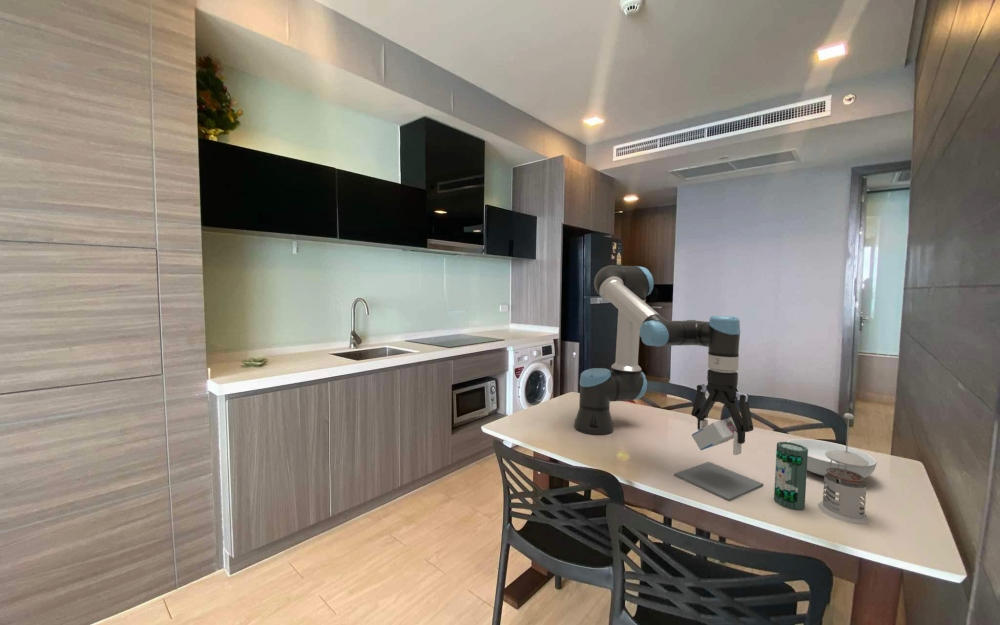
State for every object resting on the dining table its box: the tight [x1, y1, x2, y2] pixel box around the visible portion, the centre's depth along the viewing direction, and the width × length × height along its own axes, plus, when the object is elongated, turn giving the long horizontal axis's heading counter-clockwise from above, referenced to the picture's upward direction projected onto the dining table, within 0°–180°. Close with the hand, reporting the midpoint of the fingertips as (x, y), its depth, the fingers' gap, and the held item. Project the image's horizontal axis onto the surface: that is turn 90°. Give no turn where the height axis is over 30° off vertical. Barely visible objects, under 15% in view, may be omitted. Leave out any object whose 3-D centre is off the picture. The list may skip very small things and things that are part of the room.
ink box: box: [691, 416, 737, 451], centre depth 109 cm, size 8×5×12 cm
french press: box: [817, 412, 871, 525], centre depth 95 cm, size 10×12×25 cm
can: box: [773, 441, 808, 511], centre depth 99 cm, size 6×6×15 cm
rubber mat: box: [674, 461, 764, 502], centre depth 110 cm, size 16×17×1 cm
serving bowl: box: [786, 438, 878, 480], centre depth 117 cm, size 21×21×7 cm
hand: (719, 447), depth 110 cm, fingers closed on ink box, 9 cm apart
